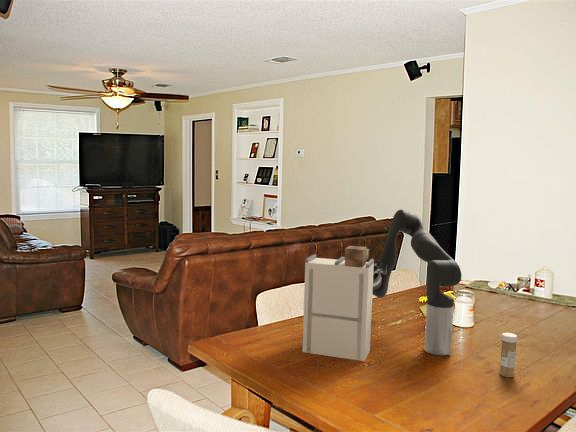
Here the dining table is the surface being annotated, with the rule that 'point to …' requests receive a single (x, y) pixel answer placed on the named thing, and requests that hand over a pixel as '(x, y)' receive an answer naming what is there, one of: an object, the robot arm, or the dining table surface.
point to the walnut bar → (356, 256)
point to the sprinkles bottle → (508, 354)
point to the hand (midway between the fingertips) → (366, 261)
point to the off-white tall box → (337, 308)
